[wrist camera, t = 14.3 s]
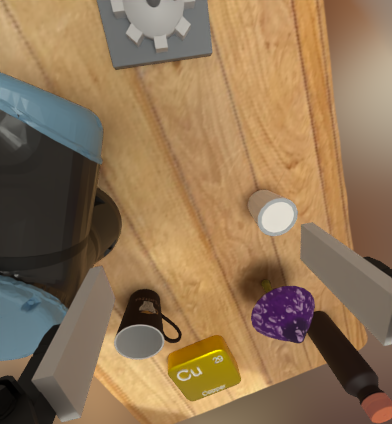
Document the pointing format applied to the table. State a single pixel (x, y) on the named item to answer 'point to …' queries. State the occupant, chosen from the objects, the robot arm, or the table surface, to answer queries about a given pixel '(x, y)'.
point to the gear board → (147, 48)
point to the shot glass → (272, 212)
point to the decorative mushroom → (283, 313)
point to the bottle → (350, 367)
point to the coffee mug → (142, 327)
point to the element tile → (203, 368)
